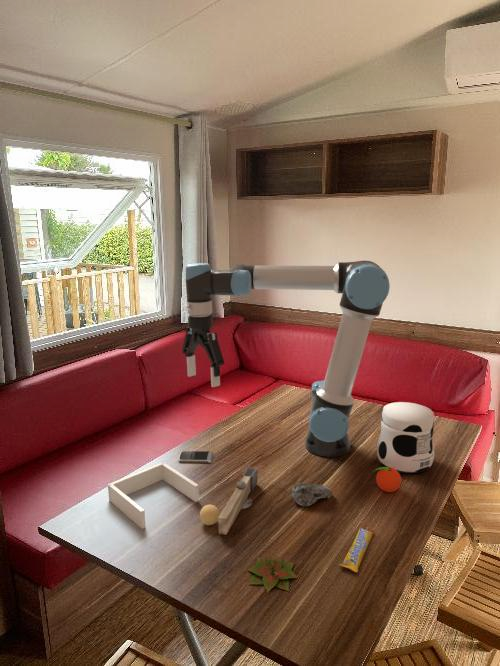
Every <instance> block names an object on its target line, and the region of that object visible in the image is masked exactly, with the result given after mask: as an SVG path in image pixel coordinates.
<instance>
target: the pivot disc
mask: <svg viewBox="0 0 500 666" xmlns="http://www.w3.org/2000/svg"><path fill="white" fill-rule="evenodd" d="M252 505H253V500H252V498H251V497H249V496H248V497H247V498H246V500H245V502H244V504H243V506H242V507H241V509H240V510H246V509H249V508H251V506H252Z"/></svg>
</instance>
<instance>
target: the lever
mask: <svg viewBox="0 0 500 666" xmlns="http://www.w3.org/2000/svg"><path fill="white" fill-rule="evenodd" d="M257 483H258V468H257V467H249V466H246V468H245V469H244V472H242V474H241V479H240V481H237V482H236V483H235V485H236V488H235V490H234V491H233V493H232V494H231V496H230V498H229V499H228V501H227V503H226V504H225V505H224V508H223V509H222V510H221V512H220V513H219V517H218V534H219V535H223V536H224V535H225V536H227V535H228V534H229V531H230V529H231V527H232V526H233V524H234V522H235V520H236V518H237V517H238V514H239V513H240V511H241V510H242V509H241V507H242V506H243V504H244V502H245V500H246V498H247V497H249V494H250V493H251V492H254V490H255V487H256V486H257Z"/></svg>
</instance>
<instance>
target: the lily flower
mask: <svg viewBox="0 0 500 666" xmlns="http://www.w3.org/2000/svg"><path fill="white" fill-rule="evenodd" d="M268 558H269V559H268ZM255 563H256V564H254V565H253V566H251V567H250V568H247V569H246V571H249V572H251V573H253V575H252V577H251V579H250V580H249V583H248V584H247V585H248V586H250V585H263V586H264V589H265V590H266V593H267V594H269V592H271V590H272V589H273V588H274V587H276V588H279V589H282V590H285V591H287V592H290V581H289V580H288V579H295V578H296V579H299V577H298V576H297V575H296V574H295V573H294V571H293V570H292V569H293V567H294V565H295V562H292V561H290V562H289V561H282V560H281V558H280V557H279V556H277V555H276V556H274V554H273V557H270V556H268V557H259V556H256V562H255ZM268 572H270V573H271V575H274V574H275V573H277V576H275V577H272V578H271V577H270V576H268V574H267V573H268ZM261 577H262V579H261ZM260 579H261V580H260ZM279 580H281V581H282V583H281V584H280V583H278V582H279Z"/></svg>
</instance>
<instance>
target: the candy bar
mask: <svg viewBox="0 0 500 666" xmlns="http://www.w3.org/2000/svg"><path fill="white" fill-rule="evenodd" d="M374 534H375V531H374V530H373V528H371V527H368V526H366V529H365V526H364V525H358V531H357V534H356V536H355V538H354V540H353V542H352V544H351V546H350V548H349V550H348V552H347V554H346V556H345V558H344V559H343V561H342V563H339V564H338V566H339V567H343V568H346V569H349V570H351V572H354V573H356V574H357V573H358V572H359V567H360V565H361V563H362V560H363V558H364V555H365V553H366V551H367V549H368V546H369V544H370V542H371V540H372V537H373V535H374Z"/></svg>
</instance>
